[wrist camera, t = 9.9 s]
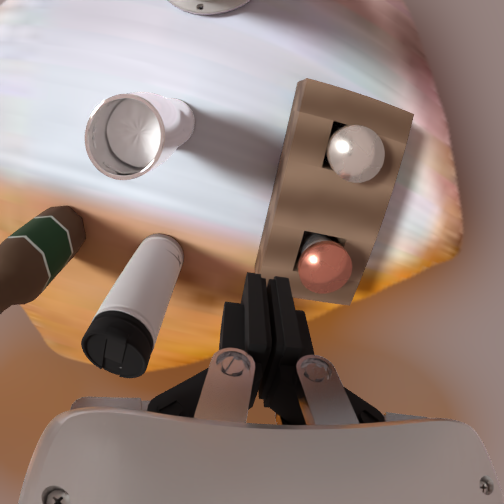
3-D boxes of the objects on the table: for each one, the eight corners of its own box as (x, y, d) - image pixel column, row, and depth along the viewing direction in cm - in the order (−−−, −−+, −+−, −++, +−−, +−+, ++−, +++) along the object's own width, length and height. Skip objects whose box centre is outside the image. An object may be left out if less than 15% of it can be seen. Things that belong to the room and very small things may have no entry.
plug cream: (318, 114, 34) (337, 118, 26) (362, 127, 34) (390, 135, 27) (307, 159, 36) (323, 175, 29) (351, 170, 37) (375, 188, 29)
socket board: (297, 82, 32) (307, 78, 27) (391, 111, 34) (414, 114, 28) (254, 266, 43) (255, 291, 37) (338, 280, 44) (349, 305, 39)
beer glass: (167, 82, 32) (117, 73, 19) (211, 119, 34) (187, 129, 21) (130, 127, 34) (67, 146, 21) (172, 163, 36) (130, 201, 23)
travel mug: (191, 241, 41) (153, 349, 23) (175, 281, 44) (138, 394, 26) (147, 223, 40) (80, 319, 22) (134, 264, 42) (76, 368, 24)
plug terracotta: (296, 212, 38) (307, 241, 31) (339, 221, 39) (359, 251, 31) (285, 253, 40) (293, 289, 33) (326, 261, 41) (342, 296, 34)
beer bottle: (91, 212, 39) (-20, 322, 17) (84, 260, 42) (-5, 379, 21) (46, 196, 37) (-74, 285, 16) (42, 243, 41) (-56, 344, 19)
